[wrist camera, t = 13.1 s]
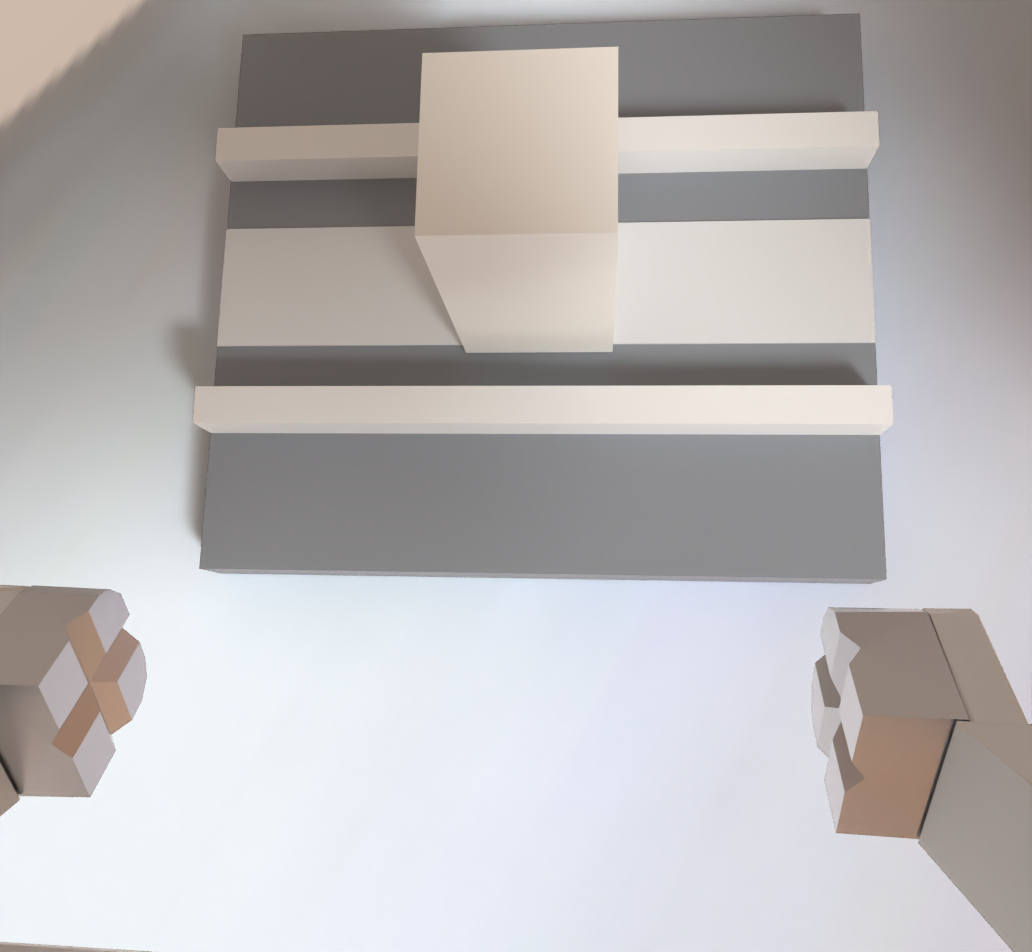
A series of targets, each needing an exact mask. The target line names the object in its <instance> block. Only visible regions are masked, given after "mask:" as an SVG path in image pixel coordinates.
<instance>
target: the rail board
mask: <svg viewBox="0 0 1032 952" xmlns="http://www.w3.org/2000/svg"><path fill="white" fill-rule="evenodd" d="M591 47H618V243H617V266H616V288H615V311H614V333H613V352H535V353H466V352H465V350H464V347H463V345H462V343H461V340H460V338H459V336H458V334H457V331H456V329H455V327H454V325H453V322H452V320H451V318H450V316H449V313H448V311H447V309H446V306H445V304H444V302H443V300H442V297H441V295H440V293H439V291H438V288H437V286H436V284H435V282H434V279H433V277H432V275H431V272H430V270H429V268H428V266H427V263H426V261H425V259H424V257H423V254H422V252H421V250H420V248H419V245H418V243H417V241H416V238H415V236H414V235H415V211H416V188H417V165H418V142H419V119H420V95H421V72H422V53H442V52H472V51H501V50H531V49H561V48H591ZM879 146H880V145H879V125H878V111H864V93H863V72H862V51H861V30H860V14H832V15H803V16H774V17H745V18H716V19H687V20H658V21H629V22H601V23H572V24H543V25H514V26H485V27H456V28H427V29H398V30H369V31H340V32H311V33H282V34H253V35H243V43H242V55H241V68H240V80H239V92H238V104H237V116H236V128H218V132H217V143H216V155H215V162H216V163H217V164H218V166H219V167H220V168H221V169H222V171H223V172H224V173H225V175H226V176H227V177H228V178H229V180H230V181H231V189H230V202H229V214H228V226H227V229H226V240H225V252H224V264H223V276H222V288H221V300H220V313H219V325H218V337H217V346H218V348H217V360H216V372H215V384H214V386H196V388H195V400H194V411H193V423H194V424H196V425H197V426H199V427H201V428H203V429H204V430H206V431H208V432H210V445H209V457H208V469H207V482H206V494H205V506H204V518H203V530H202V543H201V555H200V567H199V569H204V570H208V571H213V572H218V573H239V574H301V575H364V576H426V577H489V578H551V579H614V580H676V581H738V582H801V583H863V584H871V583H874V582H878V581H882V580H886V559H885V538H884V517H883V495H882V474H881V453H880V434H882V433H883V432H884V431H885V430H887V429H888V428H889V427H890V426H892V425H893V405H892V385H877V368H876V347H875V343H876V333H875V312H874V291H873V270H872V249H871V227H870V219H869V199H868V178H867V168H868V166H869V164H870V162H871V160H872V159H873V157H874V155H875V153H876V151H877V150H878V148H879Z"/></svg>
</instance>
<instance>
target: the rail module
mask: <svg viewBox="0 0 1032 952" xmlns="http://www.w3.org/2000/svg"><path fill="white" fill-rule="evenodd" d="M414 236H415V238H416V241H417V243H418V245H419V248H420V250H421V252H422V254H423V257H424V259H425V261H426V263H427V266H428V268H429V270H430V272H431V275H432V277H433V279H434V282H435V284H436V286H437V288H438V291H439V293H440V295H441V297H442V300H443V302H444V304H445V306H446V309H447V311H448V313H449V316H450V318H451V320H452V322H453V325H454V327H455V329H456V331H457V334H458V336H459V338H460V340H461V343H462V345H463V347H464V350H465V352H466V353H535V352H613V333H614V311H615V288H616V266H617V243H618V47H591V48H561V49H531V50H501V51H472V52H442V53H422V72H421V95H420V119H419V142H418V165H417V188H416V211H415V235H414Z"/></svg>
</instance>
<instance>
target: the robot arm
mask: <svg viewBox="0 0 1032 952" xmlns="http://www.w3.org/2000/svg"><path fill="white" fill-rule="evenodd" d="M129 615H130V614H129V612H128V610H127V607H126V605H125V603H124V600H123V598H122V595H121V593H118V592H115V591H113V590H110V589H93V588H73V587H52V586H31V587H30V586H14V585H0V816H1V815H2V814H3V813H5V812H6V811H7V810H8V809H9V808H11V807H12V806H13V805H14V804H15V803H17V802H18V801H19V799H20V798H19V796H52V797H91V795H92V793H93V791H94V790H95V788H96V786H97V784H98V782H99V780H100V778H101V777H102V775H103V773H104V771H105V769H106V767H107V766H108V764H109V762H110V760H111V758H112V756H113V755H114V753H115V751H116V749H115V746H114V742H113V739H112V735H111V734H113V733H114V732H116V731H117V730H119V729H120V728H121V727H123V726H124V725H126V724H127V723H128V722H130V721H131V720H132V719H133V717H134V715H135V713H136V711H137V709H138V707H139V705H140V703H141V701H142V698H143V693H144V688H145V683H146V678H147V673H146V662H145V656H144V653H143V650H142V647H141V644H140V642H139V641H138V640H136V639H135V638H134V637H133V636H132V635H130V634H129V633H128V632H127V631H126V630H124V629H123V628H122V627H123V626H124V624H125V622H126V620H127V618H128V616H129ZM820 634H821V639H822V643H823V647H824V652H825V655H824V656H823V657H822V658H820V659H819V660H818V661H817V662H816V663H815V667H814V673H813V680H812V700H811V711H812V719H813V728H814V733H815V738H816V743H817V747H818V748H819V749H820V750H821V751H822V752H823V753H824V754H825V755H826V756H827V757H828V758H829V759H828V764H827V769H826V774H825V779H824V781H825V786H826V790H827V795H828V799H829V804H830V808H831V813H832V818H833V822H834V827H835V831H836V833H844V834H858V835H871V836H885V837H898V838H912V839H919V841H918V843H919V844H920V846H921V847H922V848H923V849H924V850H925V851H926V852H927V854H928V855H929V856H930V857H931V858H932V859H933V860H934V862H935V863H936V864H937V865H938V866H939V867H940V868H941V870H942V871H943V872H944V873H945V874H946V875H947V877H948V878H949V879H950V880H951V881H952V882H953V883H954V885H955V886H956V887H957V888H958V889H959V890H960V891H961V893H962V894H963V895H964V896H965V897H966V898H967V899H968V901H969V902H970V903H971V904H972V905H973V906H974V908H975V909H976V910H977V911H978V912H979V913H980V914H981V916H982V917H983V918H984V919H985V920H986V921H987V922H988V924H989V925H990V926H991V927H992V928H993V929H994V930H995V932H996V933H997V934H998V935H999V936H1000V937H1001V939H1002V940H1003V941H1004V942H1005V943H1006V944H1007V945H1008V947H1009V948H1010V949H1011V950H1012V951H1013V952H1032V724H1028V722H1027V720H1026V718H1025V716H1024V714H1023V712H1022V709H1021V707H1020V705H1019V703H1018V701H1017V698H1016V696H1015V694H1014V692H1013V690H1012V688H1011V685H1010V683H1009V681H1008V679H1007V677H1006V674H1005V672H1004V670H1003V668H1002V666H1001V663H1000V661H999V659H998V657H997V655H996V653H995V650H994V648H993V646H992V644H991V642H990V639H989V637H988V635H987V633H986V631H985V629H984V626H983V624H982V622H981V620H980V618H979V615H978V614H976V613H975V612H974V611H973V610H972V609H933V608H923V609H922V610H920V609H891V608H835V607H828V609H827V611H826V613H825V615H824V618H823V623H822V628H821V633H820ZM0 952H150V951H135V950H119V949H103V948H88V947H72V946H57V945H41V944H25V943H10V942H0Z"/></svg>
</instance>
